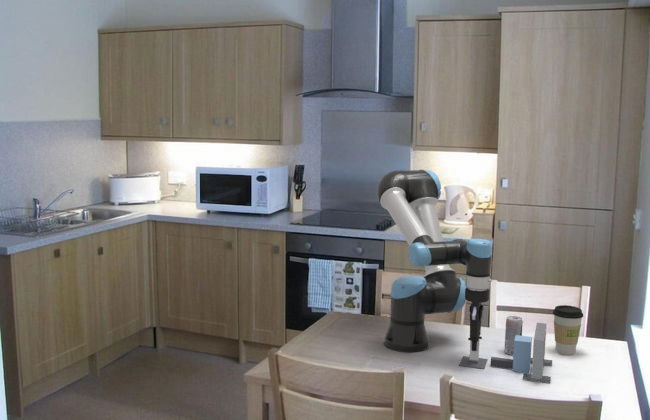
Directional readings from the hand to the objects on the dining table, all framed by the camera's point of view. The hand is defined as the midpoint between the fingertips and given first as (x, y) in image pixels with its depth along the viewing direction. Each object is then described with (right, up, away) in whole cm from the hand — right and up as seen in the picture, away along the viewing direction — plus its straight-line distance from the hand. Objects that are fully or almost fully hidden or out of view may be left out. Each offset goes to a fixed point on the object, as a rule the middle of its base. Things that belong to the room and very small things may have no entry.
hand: (474, 359), depth 230 cm
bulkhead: (+19, -2, -6) cm, 20 cm away
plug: (+11, -2, -3) cm, 11 cm away
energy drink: (+15, 0, +10) cm, 18 cm away
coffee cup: (+33, 0, +12) cm, 36 cm away
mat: (0, -1, 0) cm, 1 cm away
